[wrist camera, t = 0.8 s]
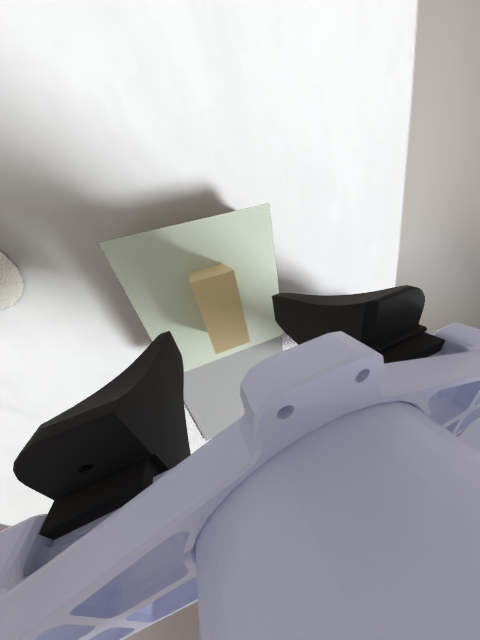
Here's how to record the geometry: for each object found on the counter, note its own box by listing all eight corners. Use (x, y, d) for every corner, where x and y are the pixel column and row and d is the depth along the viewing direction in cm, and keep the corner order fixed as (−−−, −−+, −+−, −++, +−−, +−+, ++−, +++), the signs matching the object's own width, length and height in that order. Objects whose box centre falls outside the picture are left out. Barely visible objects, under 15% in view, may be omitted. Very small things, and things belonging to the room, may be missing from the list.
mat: (278, 330, 26) (280, 331, 25) (287, 401, 33) (288, 402, 33) (168, 371, 23) (168, 373, 23) (205, 438, 30) (206, 440, 30)
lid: (265, 204, 15) (296, 192, 11) (280, 331, 21) (304, 352, 17) (102, 242, 13) (67, 244, 9) (172, 371, 19) (170, 407, 15)
